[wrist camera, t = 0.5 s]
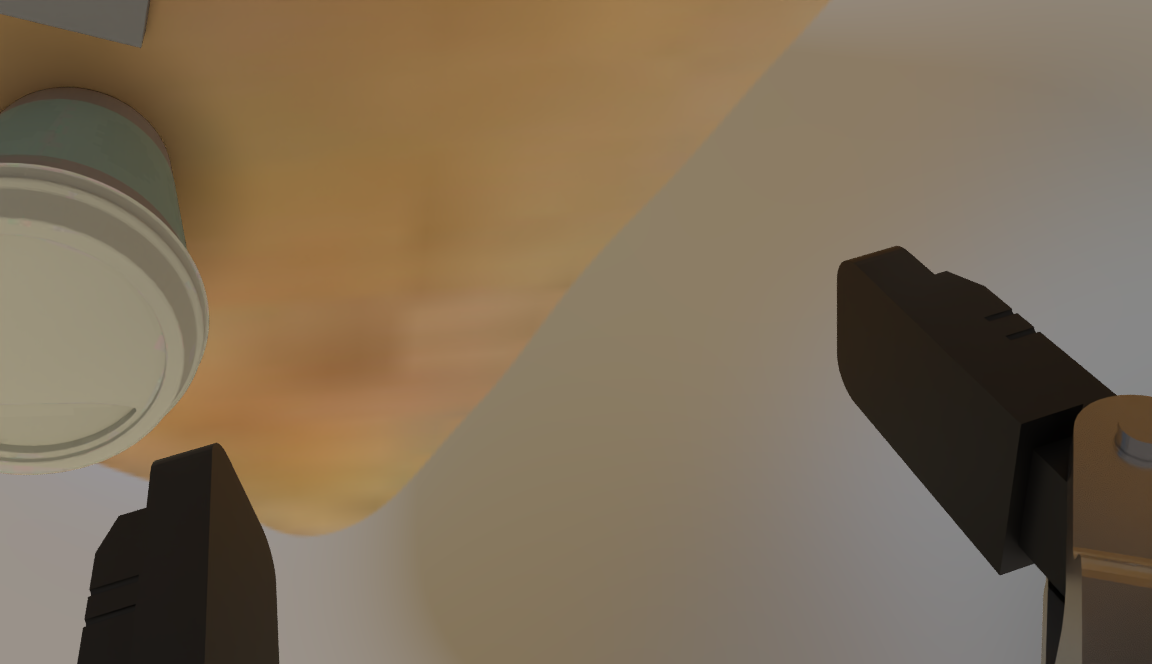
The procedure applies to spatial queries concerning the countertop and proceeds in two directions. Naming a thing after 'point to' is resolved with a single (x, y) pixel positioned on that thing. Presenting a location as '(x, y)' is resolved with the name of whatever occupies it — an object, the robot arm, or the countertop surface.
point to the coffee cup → (89, 282)
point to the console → (86, 17)
